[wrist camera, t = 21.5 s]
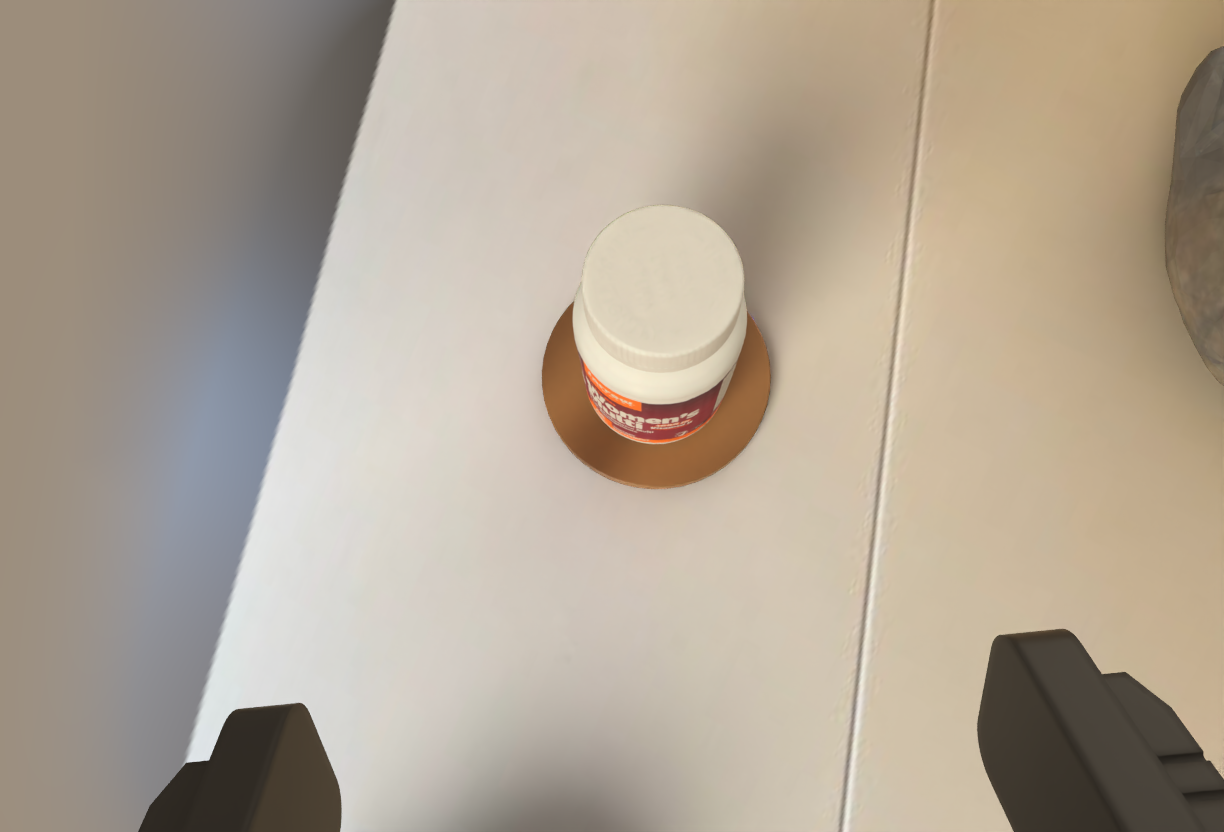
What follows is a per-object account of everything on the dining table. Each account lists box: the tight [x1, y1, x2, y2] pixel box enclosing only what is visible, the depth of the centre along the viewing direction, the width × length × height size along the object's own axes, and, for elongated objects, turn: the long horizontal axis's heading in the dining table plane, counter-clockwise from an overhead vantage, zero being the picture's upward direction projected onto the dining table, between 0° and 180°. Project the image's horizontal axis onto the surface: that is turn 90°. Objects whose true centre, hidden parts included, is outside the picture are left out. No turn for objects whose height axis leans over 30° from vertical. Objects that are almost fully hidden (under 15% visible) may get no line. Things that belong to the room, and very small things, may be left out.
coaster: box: [542, 302, 771, 489], centre depth 39 cm, size 10×10×1 cm
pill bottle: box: [573, 205, 747, 444], centre depth 33 cm, size 6×6×11 cm
